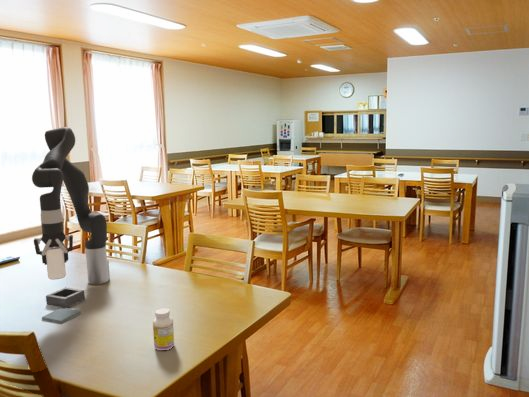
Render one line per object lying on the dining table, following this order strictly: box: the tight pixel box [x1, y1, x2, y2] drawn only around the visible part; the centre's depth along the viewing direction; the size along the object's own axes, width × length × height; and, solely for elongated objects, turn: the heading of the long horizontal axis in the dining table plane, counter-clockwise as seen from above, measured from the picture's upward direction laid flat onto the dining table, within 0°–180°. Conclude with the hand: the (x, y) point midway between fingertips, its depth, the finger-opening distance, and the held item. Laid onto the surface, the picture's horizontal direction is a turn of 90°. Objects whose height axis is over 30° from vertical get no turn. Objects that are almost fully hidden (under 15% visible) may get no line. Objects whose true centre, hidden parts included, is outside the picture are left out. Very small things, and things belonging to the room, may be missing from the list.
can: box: [45, 246, 67, 281], centre depth 179 cm, size 6×6×12 cm
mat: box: [41, 307, 82, 324], centre depth 183 cm, size 10×10×1 cm
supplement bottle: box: [152, 307, 175, 351], centre depth 155 cm, size 7×7×13 cm
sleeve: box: [45, 286, 86, 309], centre depth 197 cm, size 11×11×4 cm
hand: (55, 262), depth 179 cm, fingers closed on can, 6 cm apart
